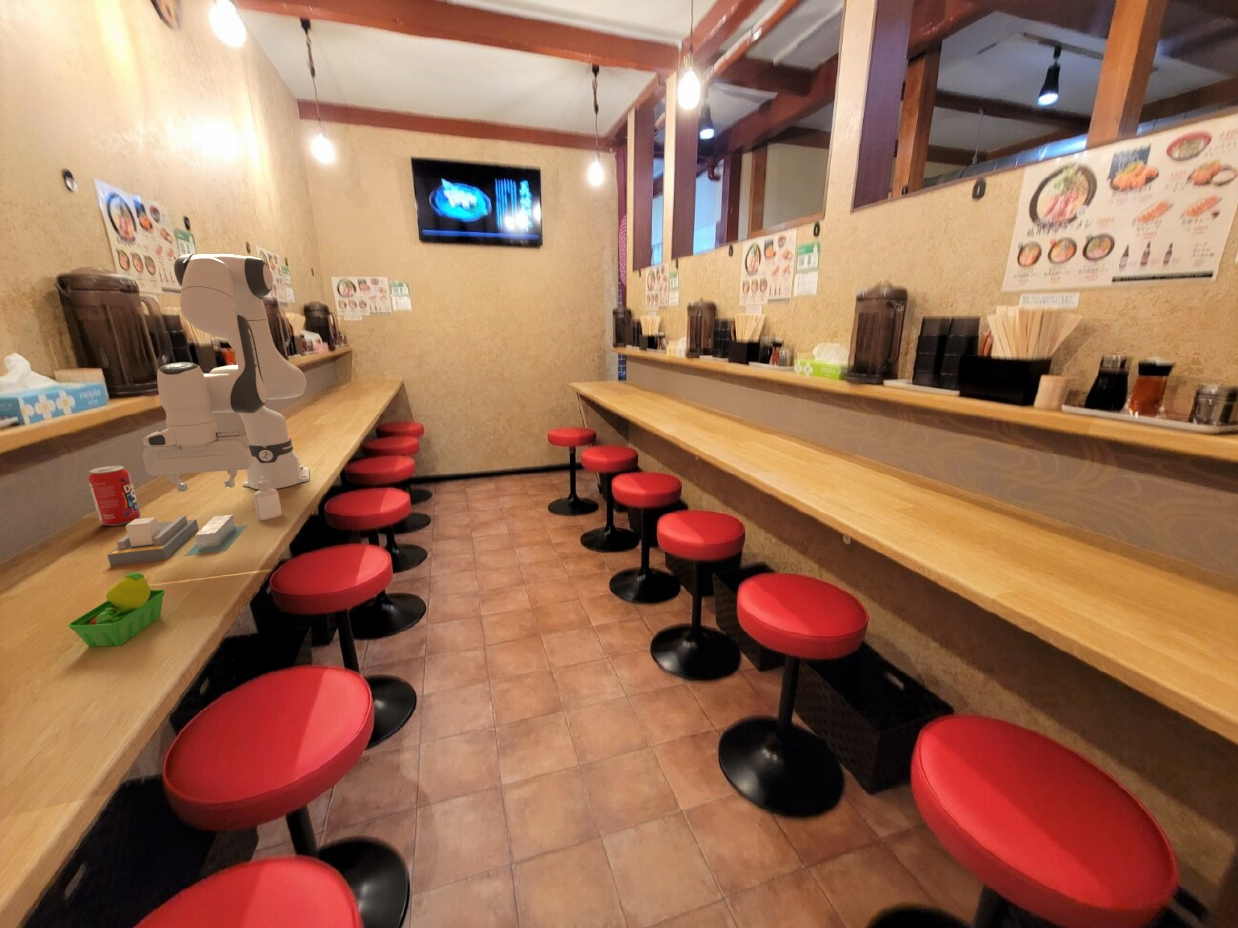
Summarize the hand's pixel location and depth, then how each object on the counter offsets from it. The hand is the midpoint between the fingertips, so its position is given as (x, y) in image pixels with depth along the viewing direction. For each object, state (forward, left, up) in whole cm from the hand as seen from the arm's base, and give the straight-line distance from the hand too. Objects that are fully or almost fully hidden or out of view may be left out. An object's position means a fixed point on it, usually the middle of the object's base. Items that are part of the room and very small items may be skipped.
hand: (207, 488), depth 122 cm
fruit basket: (+39, -1, -14) cm, 42 cm away
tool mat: (0, 0, -14) cm, 14 cm away
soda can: (-21, -28, -14) cm, 37 cm away
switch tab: (+4, -12, -10) cm, 16 cm away
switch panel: (0, -12, -14) cm, 18 cm away
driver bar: (0, 0, -13) cm, 13 cm away
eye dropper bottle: (-13, +8, -14) cm, 20 cm away
